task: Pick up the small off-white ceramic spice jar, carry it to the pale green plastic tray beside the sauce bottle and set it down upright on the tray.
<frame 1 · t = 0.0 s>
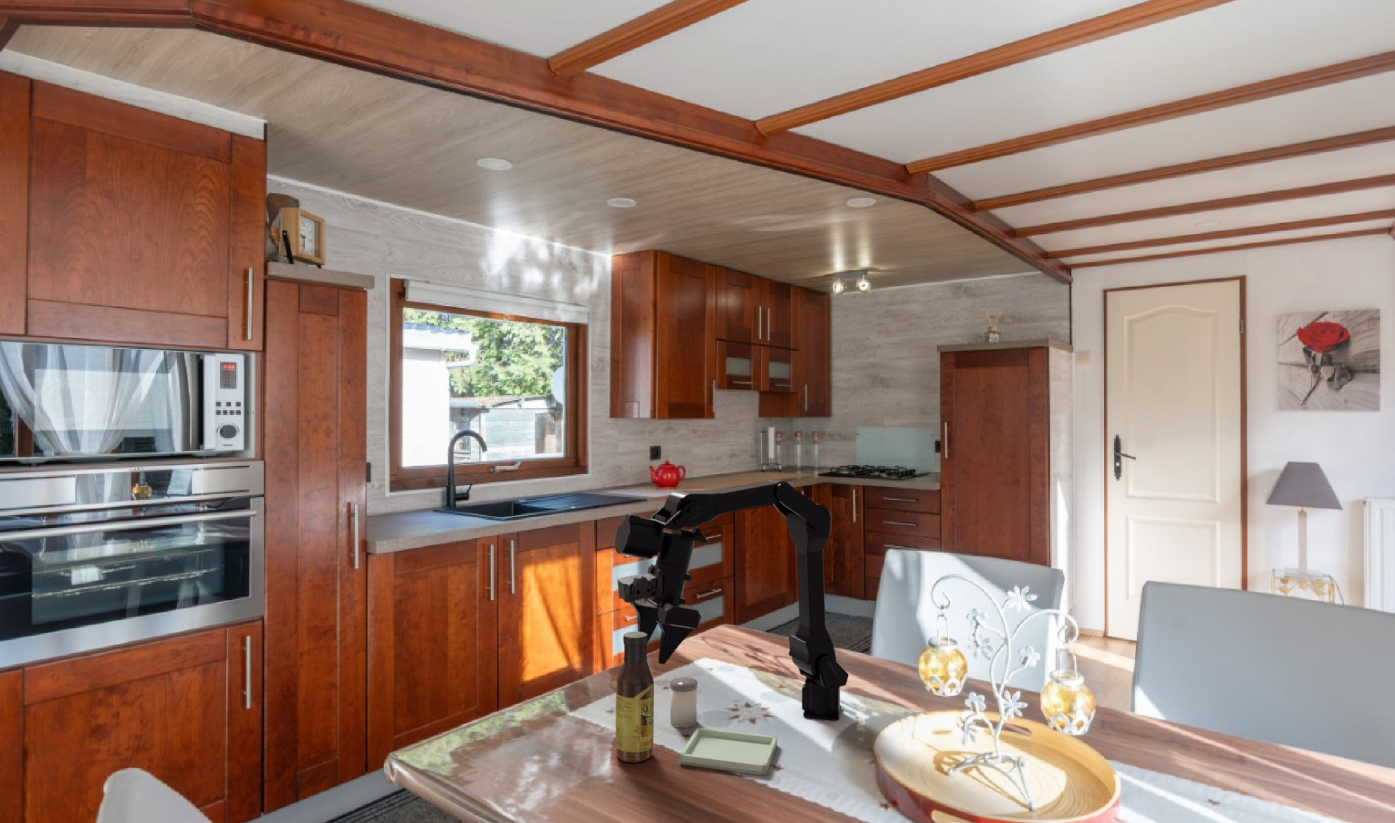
hand: (651, 655, 128), 15 cm above the table, tool pointing down, fingers open, 9 cm apart
tray: (729, 754, 125), on the table
sauce bottle: (634, 756, 125), on the table
spice jar: (683, 721, 138), on the table
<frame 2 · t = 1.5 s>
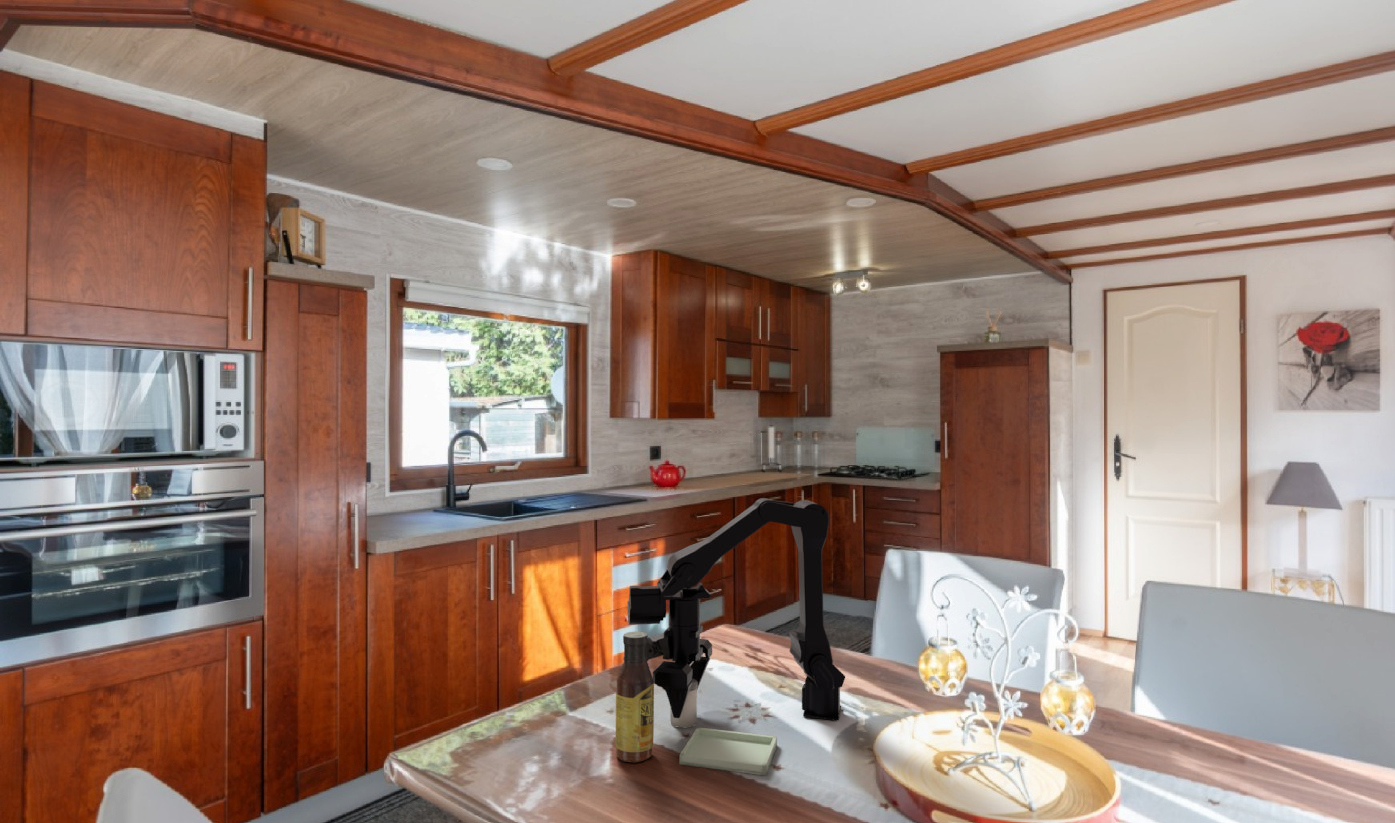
hand: (684, 707, 138), 3 cm above the table, tool pointing down, fingers open, 9 cm apart
nothing on the table moved.
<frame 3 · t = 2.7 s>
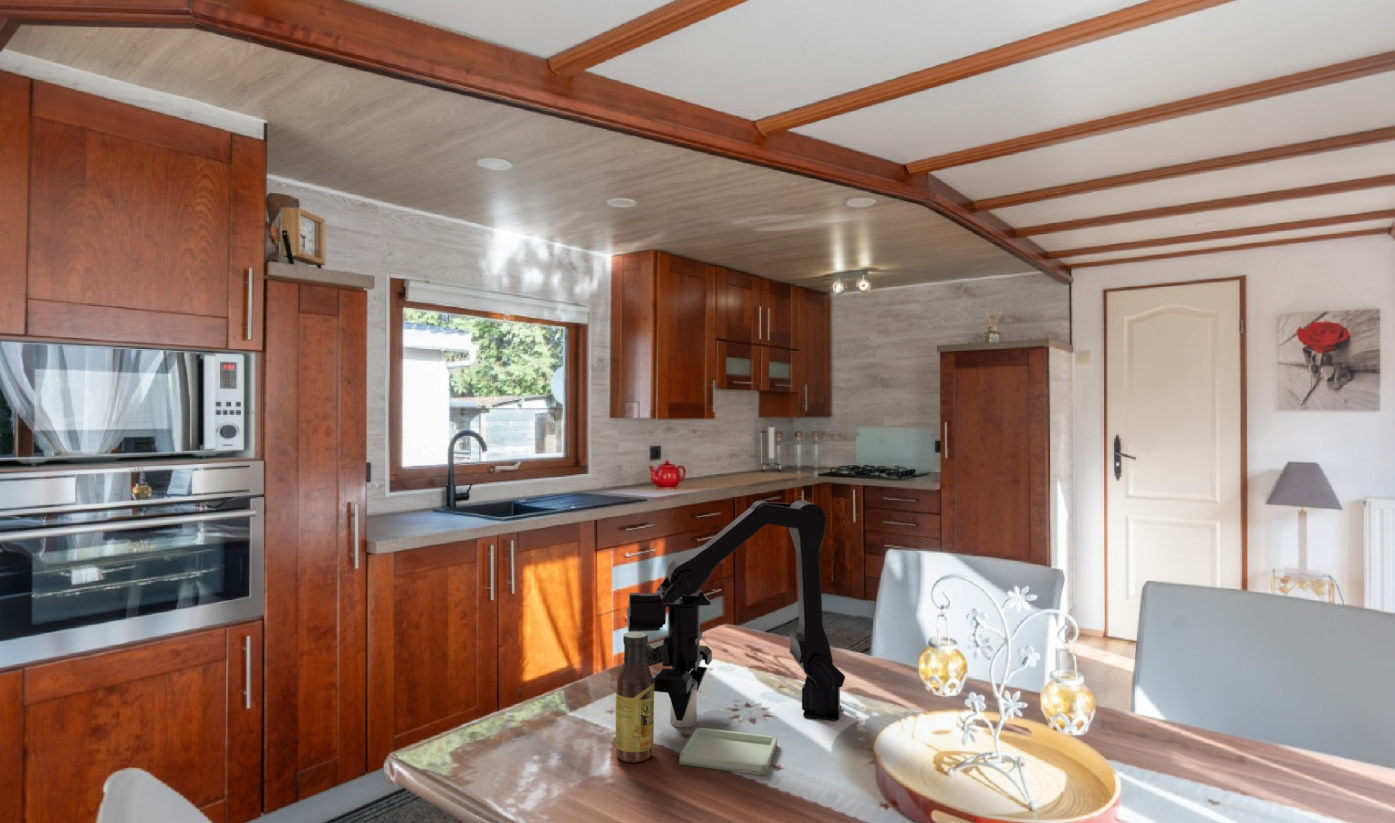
hand: (683, 714, 138), 1 cm above the table, tool pointing down, fingers closed on spice jar, 5 cm apart
spice jar: (683, 721, 138), on the table, touching gripper
everything else where it was.
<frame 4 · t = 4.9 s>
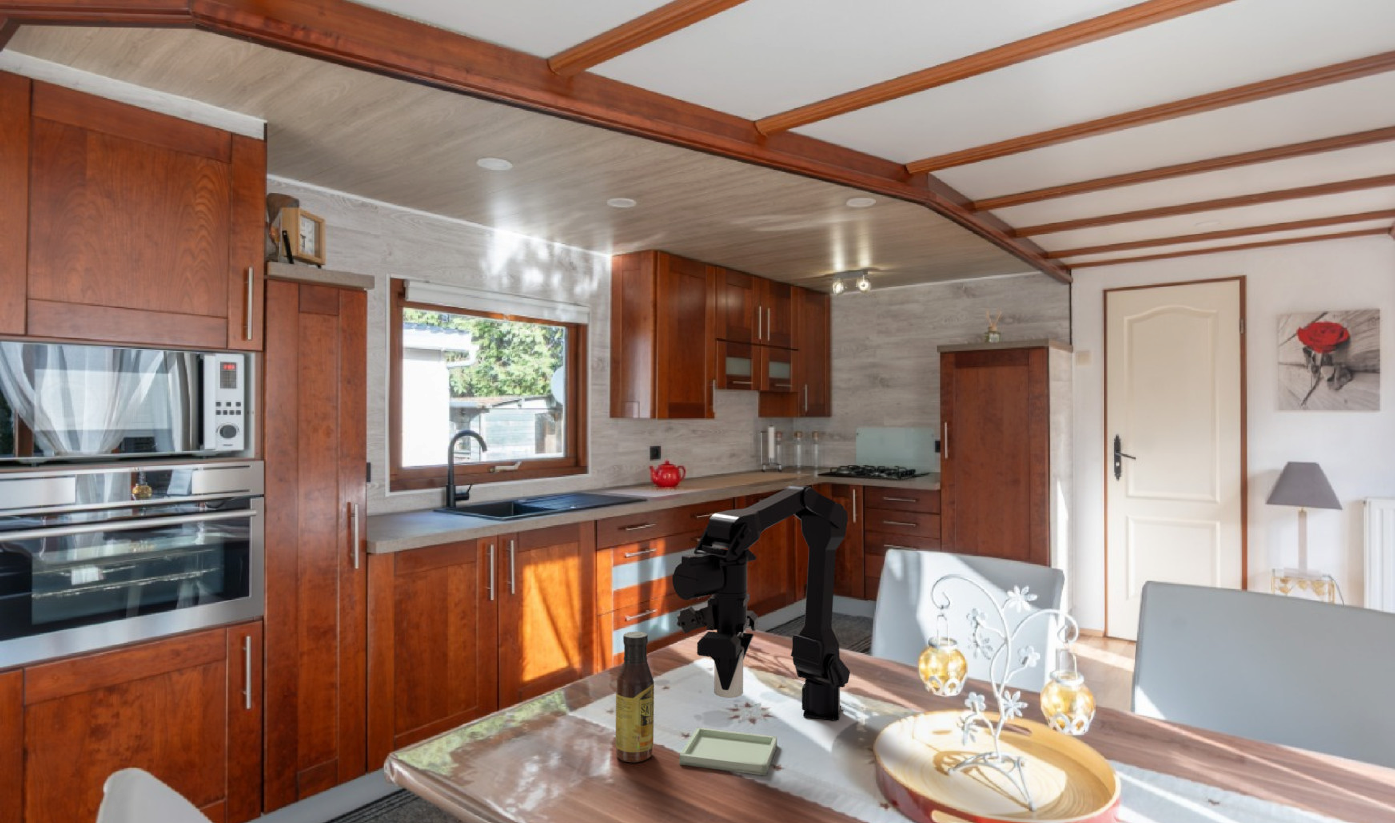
hand: (729, 684, 125), 12 cm above the table, tool pointing down, fingers closed on spice jar, 5 cm apart
spice jar: (728, 692, 125), point 10 cm above the table, touching gripper
everything else where it was.
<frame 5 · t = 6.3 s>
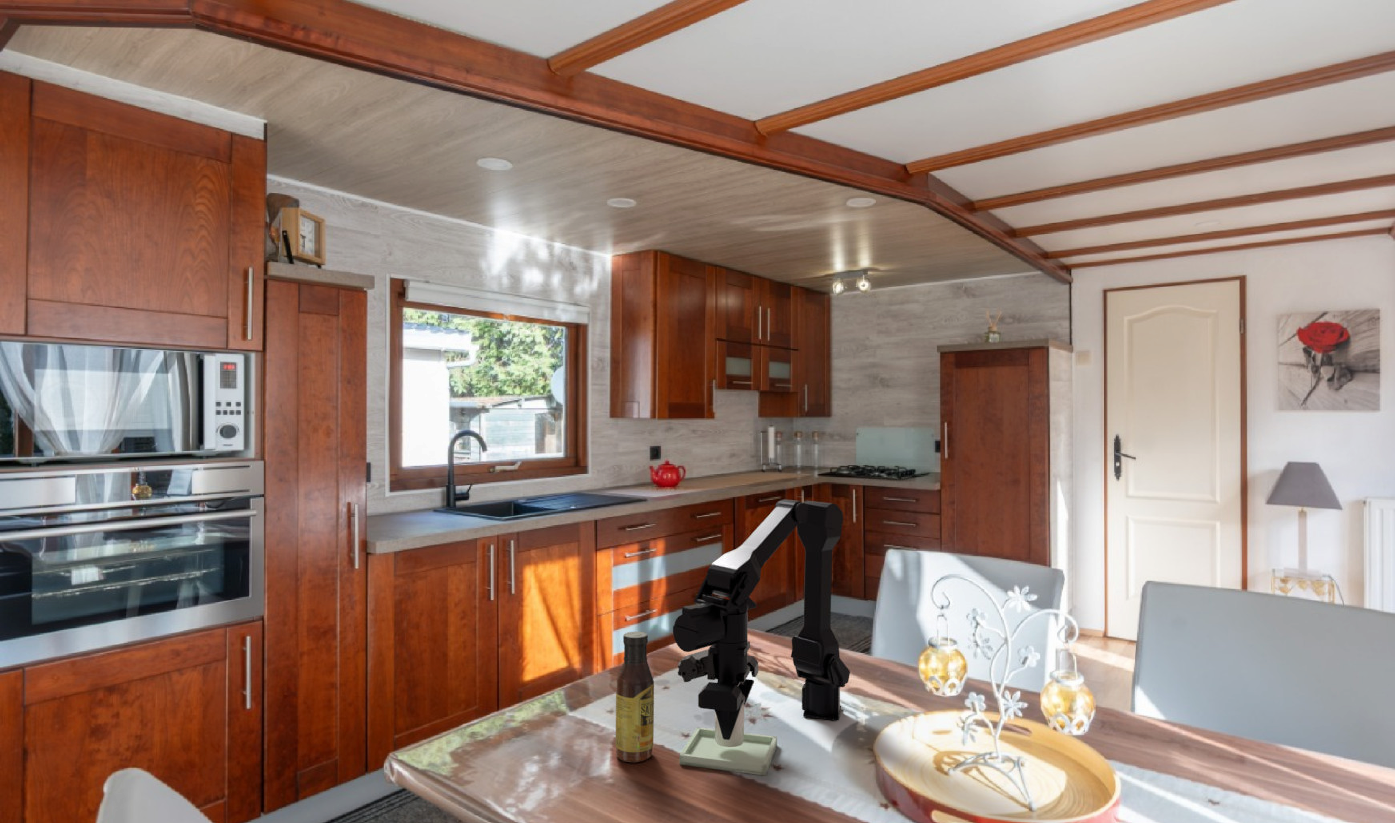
hand: (729, 732, 125), 4 cm above the table, tool pointing down, fingers closed on spice jar, 5 cm apart
spice jar: (729, 740, 125), point 2 cm above the table, touching gripper
everything else where it was.
when the fingers open (3 cm above the table, at t = 7.1 s): spice jar drops 1 cm, resting on tray.
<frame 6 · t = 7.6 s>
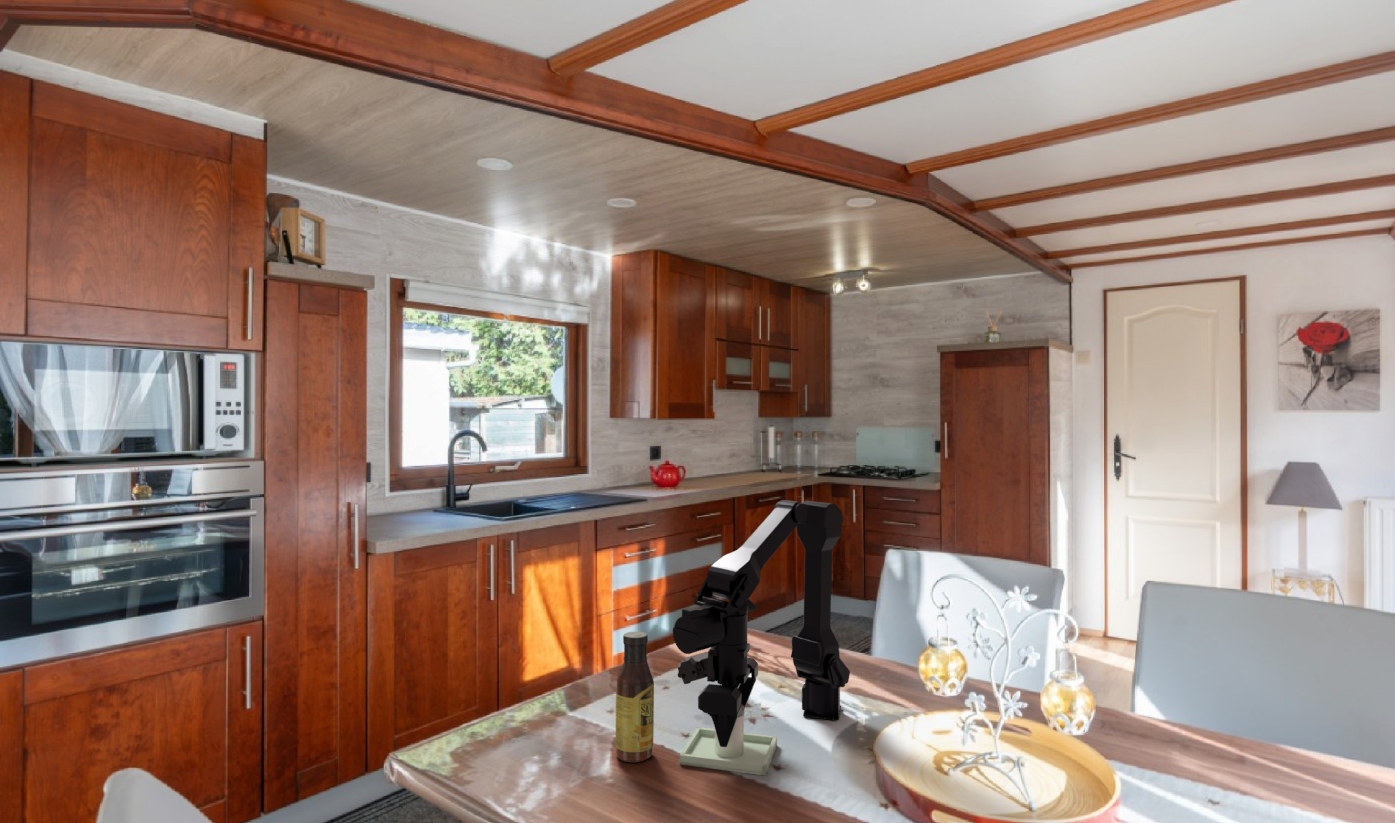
hand: (729, 734, 125), 3 cm above the table, tool pointing down, fingers open, 9 cm apart
spice jar: (729, 751, 125), resting on tray
everything else where it was.
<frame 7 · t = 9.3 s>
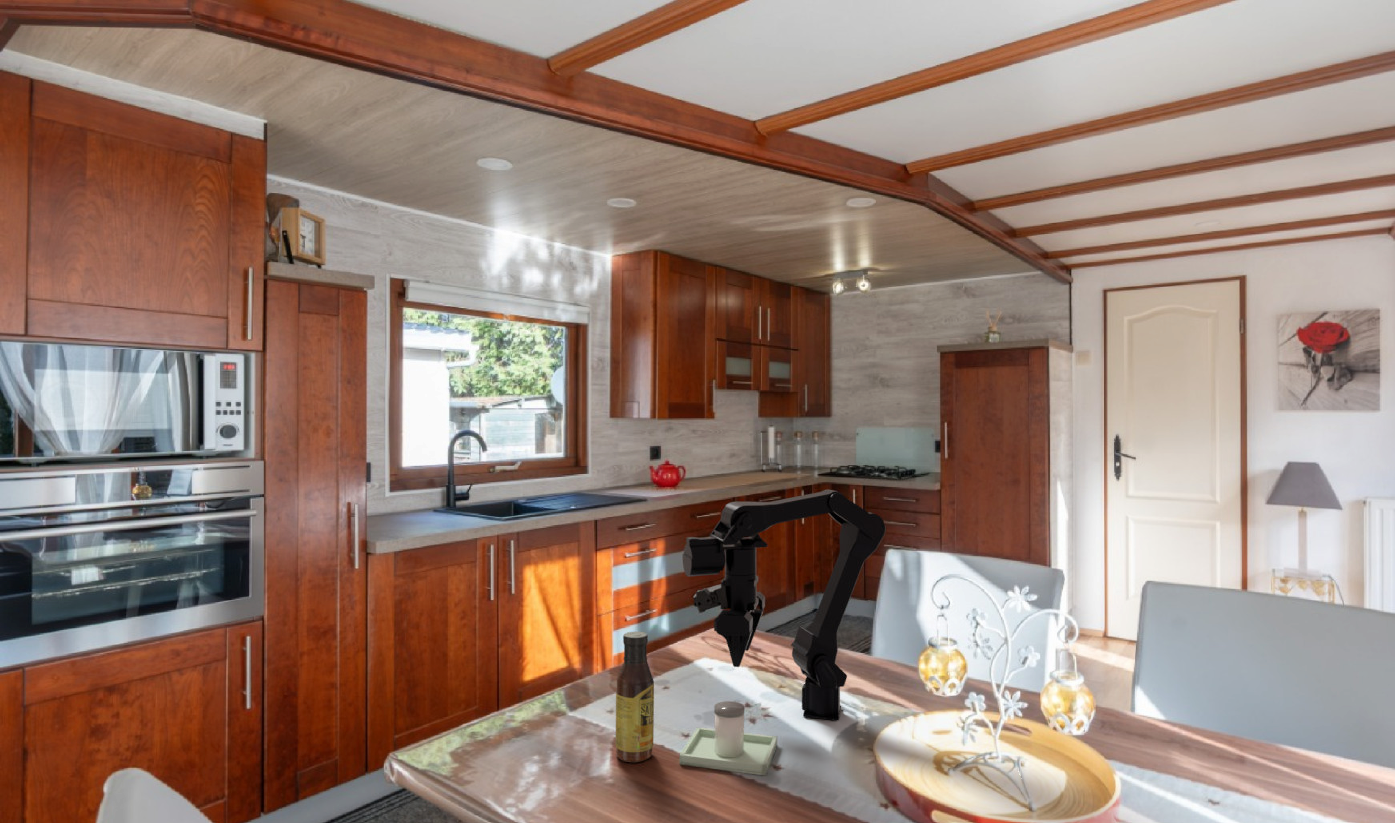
hand: (741, 658, 138), 12 cm above the table, tool pointing down, fingers open, 9 cm apart
nothing on the table moved.
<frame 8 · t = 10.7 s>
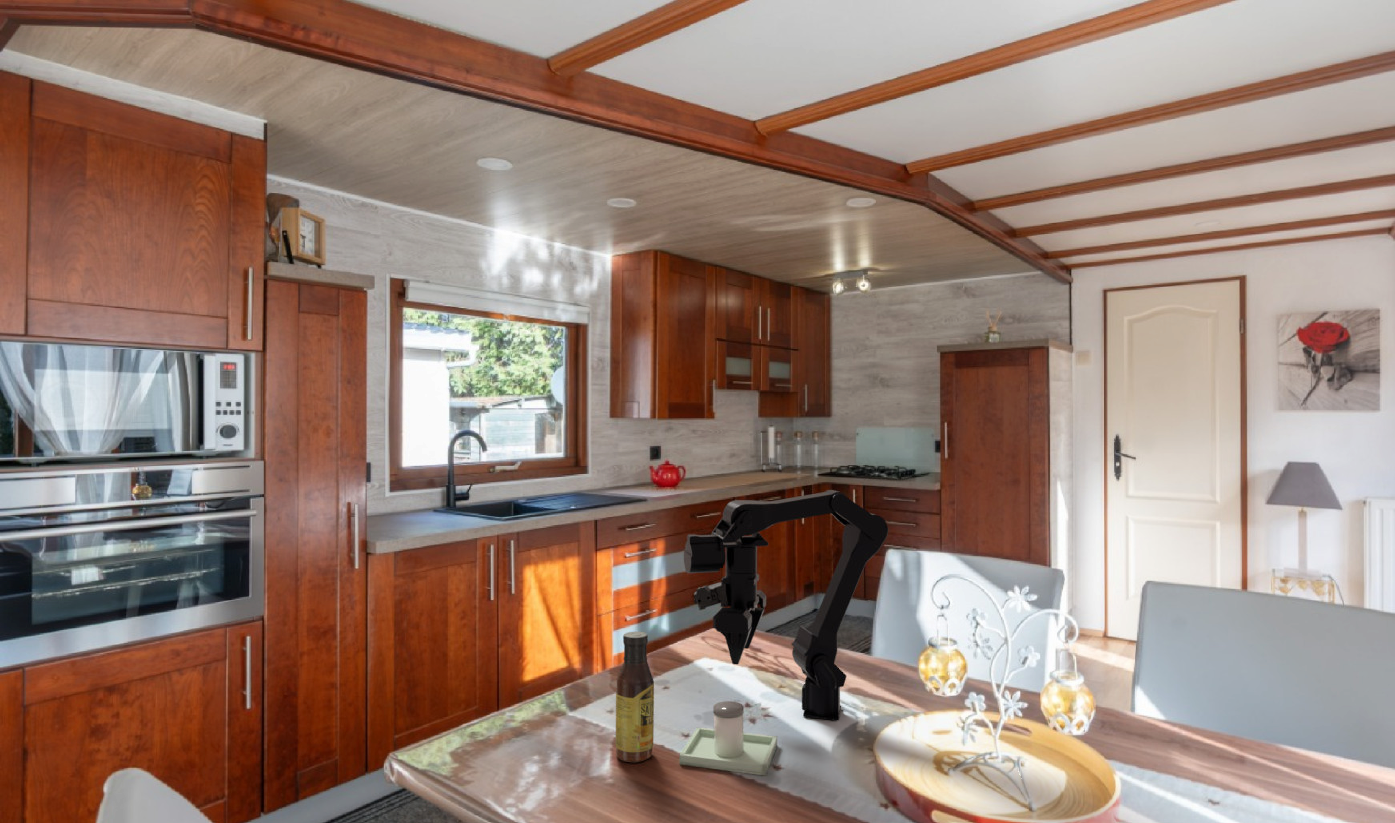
hand: (740, 655, 138), 12 cm above the table, tool pointing down, fingers open, 9 cm apart
nothing on the table moved.
at the end: spice jar inside the target area on the tray (0.1 cm from its centre), point 0.6 cm above the tray's base; spice jar tilted 1°; the gripper is holding nothing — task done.
